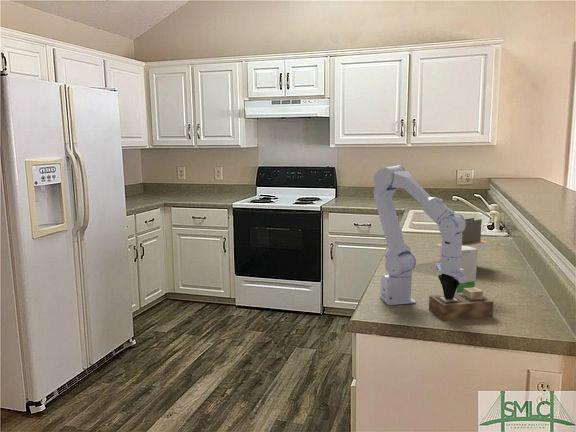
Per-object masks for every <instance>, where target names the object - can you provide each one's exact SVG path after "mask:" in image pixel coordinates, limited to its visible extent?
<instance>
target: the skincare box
mask: <svg viewBox="0 0 576 432" xmlns="http://www.w3.org/2000/svg"><path fill="white" fill-rule="evenodd" d="M478 251H479V249H478V248H477V249H476V248H472V247H469V246H462V251H461V268H462V269H464V271H463V274H464V275H465V276H467V278H466V283H460V284H459V285H458V287H457V289H456V292H455V293H463V290H464V288H472V287H476V281H477V279H476V277H477V263H478V253H479V252H478Z"/></svg>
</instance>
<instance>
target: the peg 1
mask: <svg viewBox="0 0 576 432" xmlns="http://www.w3.org/2000/svg"><path fill="white" fill-rule="evenodd" d="M439 298H440V299H442V300H443V301H445V302H453V301H458V300H457V299H455V298H453V299H450V300H447V299H445V297H439Z"/></svg>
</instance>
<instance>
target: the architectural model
mask: <svg viewBox="0 0 576 432" xmlns="http://www.w3.org/2000/svg"><path fill="white" fill-rule="evenodd" d="M464 219H465V221H466V228H465V230H464V231H463V232H461V233H462V246H469V247H472V248H476V249H478V248H481V247H487V246H488V241H487V240H483V239H481V238H482V237H481V236H482V225H483V224H482V223H483V221H482V220H483V219H482V218H481V219H475V217H470V218H464ZM441 245H442V242H441V243H436V245H435V248H436V249H437V250H441Z"/></svg>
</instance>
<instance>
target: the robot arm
mask: <svg viewBox="0 0 576 432" xmlns="http://www.w3.org/2000/svg"><path fill="white" fill-rule="evenodd" d="M372 177H373V183H374V188H373V198H374V202H375V205H376V208H377V209H376V210H377V213H378V216H379V221H380V223H381V227H382V231H383V235H384V238H385V243H386V244H387V245H386V246H387V249H386V251H385V252H384V259H385V262H384V266H385V270H386V272H387V274H384V275H382V276H381V278H380V295H379V298H380V299H381V300H382V301H383V302H384V303H385V304H387V305H388V306H394V305H397V306H398V305H406V304H407V305H408V304H416V302H417V301H416V300H414V299H413V298H412V297H411V296H412V280H413V279H412V276H413V270H414V269H415V267H416V266H417V258H416V257H415V255H414V254H413V252H412V249H411V247H410V246H409V245H407V244H406V243H405V240H404V236H403V233H402V230H401V229H402V228H401V226H400V222H399V218H398V215H397V214H398V213H397V212H396V206H395V204H394V200H393V197H394V193H395V192H396V190H398V189H402V190H403V189H404V190H405V192H407V193H408V194H409V195H411V197H412V198H413V199H415V200H416V201H418V202H419V203H420V204H421V205H422V212H424V214H426V215H427V216H428V217H429V218H430V219H431V220H432V221H433V222H434V223H435V224H436V225H437V226H438V231H439V233H440V234H441V243H442V245H441V251H440V262H438V263H435V266H434V269H435V270H436V271H439V273H441V274H439V275H437V278H438V280H439V281H440V284H441V287H442V292H443V294H444V297H445V299H447V300H450V299H453V298H454V295H455V292H456V289H457V287H458V285H459V284H460V283H466V278H467V276H465V275H464V274H463V271H464V269H462V268H461V251H462V233H461V232H463V231H464V230H465V228H466V221H465V219H466V218H464V216H463V215H462V214H461V213H460V214H459V213H455V210H453V209H451V208H449V206H447V205H446V204H445V203H444V200H443V198H441V197H439V198H438V197H437V196H431V195H430V194H429V193H428V192H427V191H426V190H425V189H424V188H423V187H422V186H421V184H419V182H417V181H416V180H415V178H414V177H413V176H412V175H411V172H410V171H408V170H406V168H405V167H403V166H402V165H400V164H398V165H394V166H381V167H379V168H378V169H377V171H376V172H375V174H374V175H373V176H372Z"/></svg>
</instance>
